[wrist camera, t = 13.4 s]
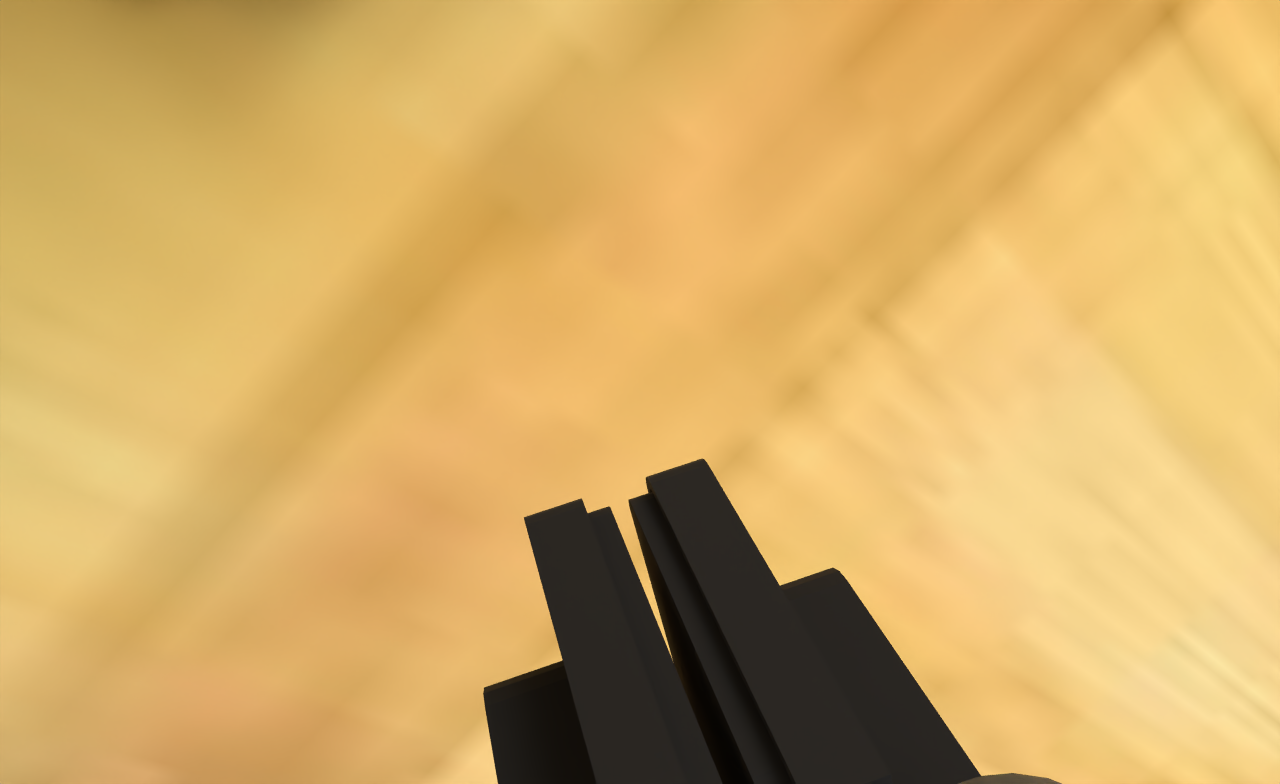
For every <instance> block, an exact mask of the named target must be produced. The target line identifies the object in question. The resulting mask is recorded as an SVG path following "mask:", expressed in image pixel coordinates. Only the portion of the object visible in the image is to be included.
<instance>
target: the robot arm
mask: <svg viewBox="0 0 1280 784" xmlns="http://www.w3.org/2000/svg"><path fill="white" fill-rule="evenodd" d="M646 484H647V489H648V494H645V495H642V496H639V497H636V498H633V499H630V500H629V506H630V510H631V514H632V518H633V521H634V525H635V528H636V532H637V535H638V539H639V542H640V546H641V549H642V553H643V556H644V560H645V563H646V567H647V570H648V574H649V577H650V581H651V584H652V588H653V592H654V595H655V599H656V602H657V606H658V609H659V613H660V616H661V620H662V623H663V627H664V630H665V634H666V637H667V641H668V644H669V648H670V651H671V655H672V658H673V660H672V658H671V655H670V653H669V651H668V648H667V646H666V643H665V641H664V638H663V636H662V633H661V631H660V628H659V626H658V624H657V621H656V619H655V616H654V614H653V611H652V609H651V606H650V604H649V601H648V599H647V596H646V594H645V592H644V589H643V587H642V584H641V582H640V579H639V577H638V574H637V572H636V569H635V567H634V565H633V562H632V560H631V557H630V555H629V552H628V550H627V547H626V545H625V542H624V540H623V538H622V535H621V533H620V530H619V528H618V525H617V523H616V520H615V518H614V515H613V513H612V511H611V508H610V507H606V508H603V509H600V510H597V511H594V512H591V513H587V511H586V508H585V506H584V503H583V501H582V499H578V500H575V501H572V502H569V503H566V504H563V505H560V506H557V507H554V508H551V509H548V510H545V511H542V512H539V513H536V514H533V515H530V516H527V517H524V520H525V524H526V528H527V531H528V535H529V539H530V542H531V546H532V550H533V553H534V557H535V561H536V564H537V568H538V572H539V575H540V579H541V583H542V586H543V590H544V593H545V597H546V601H547V604H548V608H549V612H550V615H551V619H552V623H553V626H554V630H555V634H556V637H557V641H558V645H559V648H560V652H561V656H562V659H563V661H560V662H557V663H554V664H551V665H549V666H546V667H543V668H540V669H537V670H534V671H531V672H528V673H525V674H522V675H519V676H517V677H514V678H511V679H508V680H505V681H502V682H499V683H496V684H493V685H490V686H488V687H485V688H484V693H483V694H484V703H485V710H486V716H487V721H488V727H489V733H490V739H491V745H492V751H493V757H494V763H495V769H496V775H497V780H498V784H1061V783H1059V782H1056V781H1054V780H1051V779H1049V778H1043V777H1036V776H1029V775H1022V774H1015V773H1009V774H998V775H988V776H981V775H980V774H979V772H978V771H977V769H976V768H975V766H974V765H973V763H972V762H971V761H970V759H969V758H968V756H967V755H966V753H965V752H964V750H963V749H962V747H961V746H960V744H959V743H958V742H957V740H956V739H955V737H954V736H953V734H952V733H951V731H950V730H949V728H948V727H947V725H946V724H945V723H944V721H943V720H942V718H941V717H940V715H939V714H938V712H937V711H936V709H935V708H934V707H933V705H932V704H931V702H930V701H929V699H928V698H927V696H926V695H925V693H924V692H923V690H922V689H921V688H920V686H919V685H918V683H917V682H916V680H915V679H914V677H913V676H912V674H911V673H910V672H909V670H908V669H907V667H906V666H905V664H904V663H903V661H902V660H901V658H900V657H899V655H898V654H897V653H896V651H895V650H894V648H893V647H892V645H891V644H890V642H889V641H888V639H887V638H886V637H885V635H884V634H883V632H882V631H881V629H880V628H879V626H878V625H877V623H876V622H875V620H874V619H873V618H872V616H871V615H870V613H869V612H868V610H867V609H866V607H865V606H864V604H863V603H862V601H861V600H860V599H859V597H858V596H857V594H856V593H855V591H854V590H853V588H852V587H851V585H850V584H849V583H848V581H847V580H846V579H845V577H844V576H843V575H842V574H841V573H840V571H838V570H836V569H835V568H830V569H827V570H824V571H822V572H819V573H816V574H813V575H810V576H807V577H804V578H801V579H798V580H795V581H792V582H790V583H787V584H784V585H781V586H780V585H779V584H778V582H777V580H776V579H775V577H774V575H773V574H772V572H771V570H770V569H769V567H768V565H767V563H766V562H765V560H764V558H763V557H762V555H761V553H760V552H759V550H758V548H757V547H756V545H755V543H754V541H753V540H752V538H751V536H750V535H749V533H748V531H747V530H746V528H745V526H744V525H743V523H742V521H741V519H740V518H739V516H738V514H737V513H736V511H735V509H734V508H733V506H732V504H731V503H730V501H729V499H728V497H727V496H726V494H725V492H724V491H723V489H722V487H721V486H720V484H719V482H718V480H717V479H716V477H715V475H714V474H713V472H712V470H711V469H710V467H709V465H708V464H707V462H706V461H705V460H704V459H700V460H697V461H694V462H691V463H688V464H684V465H681V466H678V467H675V468H672V469H669V470H666V471H663V472H660V473H657V474H654V475H651V476H648V477H646ZM673 662H674V663H673Z"/></svg>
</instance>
